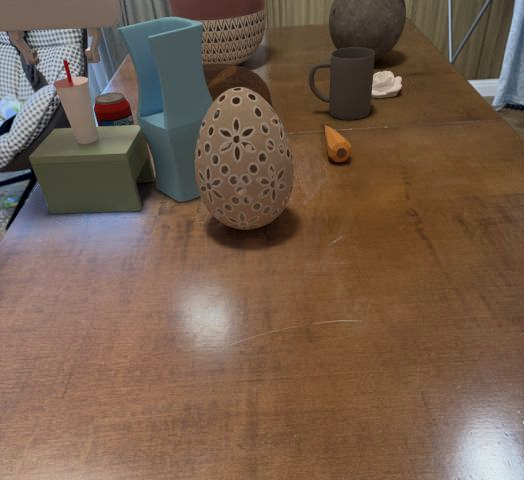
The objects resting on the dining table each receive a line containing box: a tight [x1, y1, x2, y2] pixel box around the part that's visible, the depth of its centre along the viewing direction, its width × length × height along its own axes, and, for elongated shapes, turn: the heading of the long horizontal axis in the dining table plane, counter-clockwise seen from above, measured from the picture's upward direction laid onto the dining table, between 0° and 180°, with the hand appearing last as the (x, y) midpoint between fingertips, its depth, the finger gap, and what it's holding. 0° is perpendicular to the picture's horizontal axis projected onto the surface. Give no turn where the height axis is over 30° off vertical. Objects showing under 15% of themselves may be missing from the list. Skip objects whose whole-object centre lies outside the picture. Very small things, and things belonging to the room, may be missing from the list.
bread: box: [203, 64, 272, 116], centre depth 117 cm, size 28×27×9 cm
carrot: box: [324, 124, 352, 163], centre depth 100 cm, size 20×4×4 cm, turn 4°
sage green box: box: [28, 124, 156, 215], centre depth 87 cm, size 16×12×10 cm
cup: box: [52, 59, 98, 144], centre depth 80 cm, size 5×5×12 cm
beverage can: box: [93, 91, 135, 127], centre depth 97 cm, size 7×7×12 cm
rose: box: [371, 70, 403, 99], centre depth 120 cm, size 10×4×10 cm
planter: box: [167, 0, 267, 66], centre depth 138 cm, size 27×27×27 cm
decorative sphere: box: [328, 0, 407, 62], centre depth 133 cm, size 20×20×20 cm
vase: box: [117, 16, 220, 203], centre depth 83 cm, size 10×10×25 cm
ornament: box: [195, 87, 295, 231], centre depth 74 cm, size 15×15×20 cm
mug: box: [308, 47, 375, 121], centre depth 109 cm, size 14×9×12 cm
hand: (64, 63), depth 76 cm, fingers open, 8 cm apart
